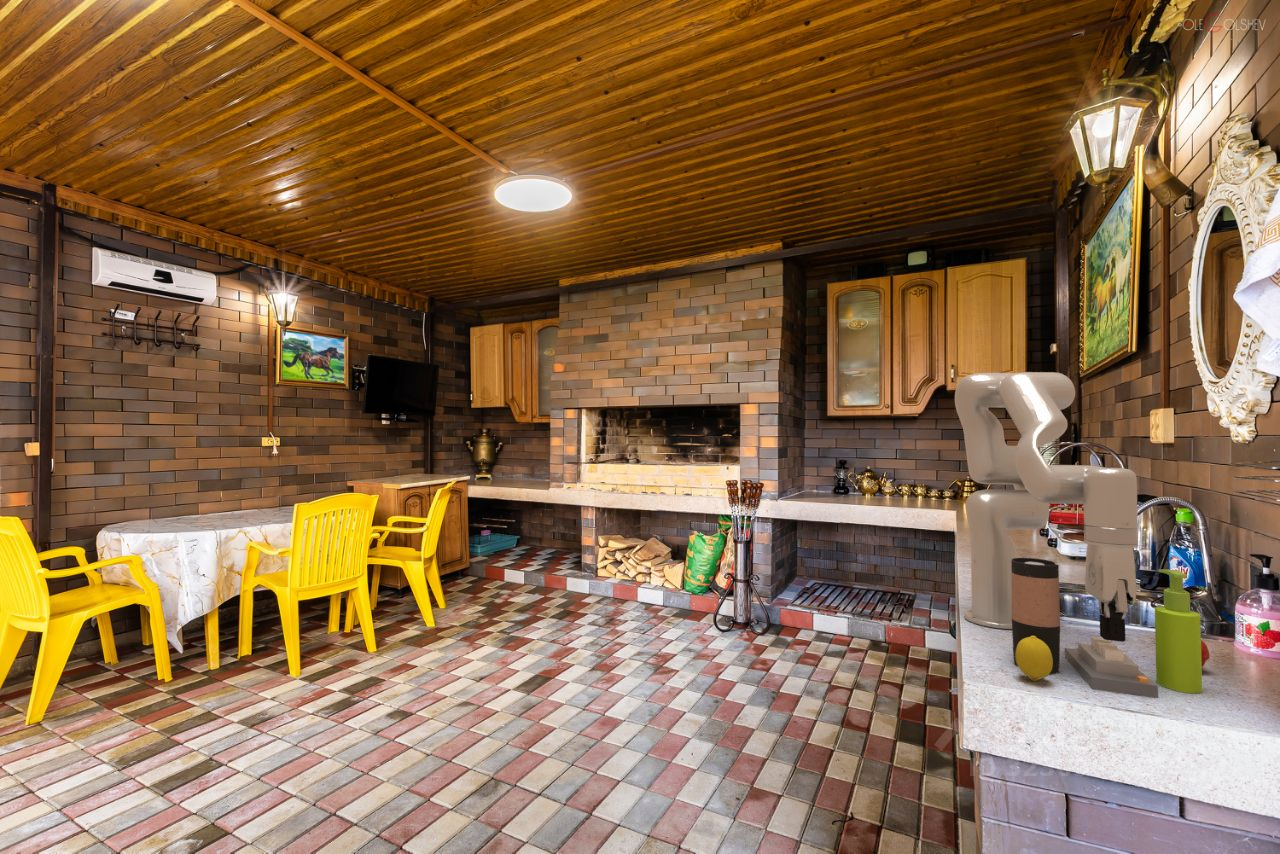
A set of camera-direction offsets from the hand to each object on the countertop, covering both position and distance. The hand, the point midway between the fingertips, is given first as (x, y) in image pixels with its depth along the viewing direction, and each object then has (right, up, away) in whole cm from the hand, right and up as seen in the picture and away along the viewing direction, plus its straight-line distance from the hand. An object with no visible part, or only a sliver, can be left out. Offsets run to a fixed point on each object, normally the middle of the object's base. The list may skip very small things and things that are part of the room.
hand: (1112, 639), depth 103 cm
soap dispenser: (+10, -8, -1) cm, 13 cm away
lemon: (-14, -8, 0) cm, 16 cm away
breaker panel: (+1, -8, +2) cm, 8 cm away
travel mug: (-9, -8, +7) cm, 14 cm away
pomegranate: (+19, -8, +7) cm, 22 cm away
